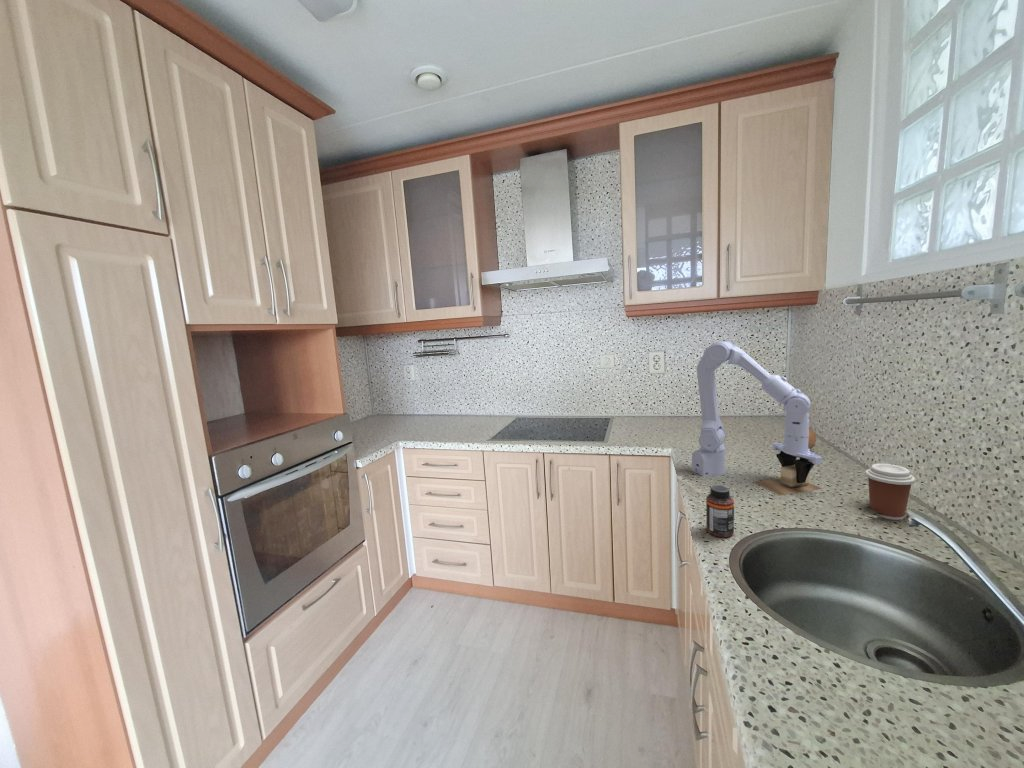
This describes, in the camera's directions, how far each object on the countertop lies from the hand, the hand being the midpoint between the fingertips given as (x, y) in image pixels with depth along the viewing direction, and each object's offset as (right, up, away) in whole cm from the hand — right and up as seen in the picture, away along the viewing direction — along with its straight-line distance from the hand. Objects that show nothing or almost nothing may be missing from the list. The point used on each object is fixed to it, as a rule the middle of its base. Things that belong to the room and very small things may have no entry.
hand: (794, 479), depth 116 cm
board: (-2, -3, 0) cm, 4 cm away
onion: (+25, +3, +32) cm, 40 cm away
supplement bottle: (-33, -8, -20) cm, 39 cm away
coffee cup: (+11, -5, -17) cm, 21 cm away
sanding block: (0, -1, 0) cm, 1 cm away
